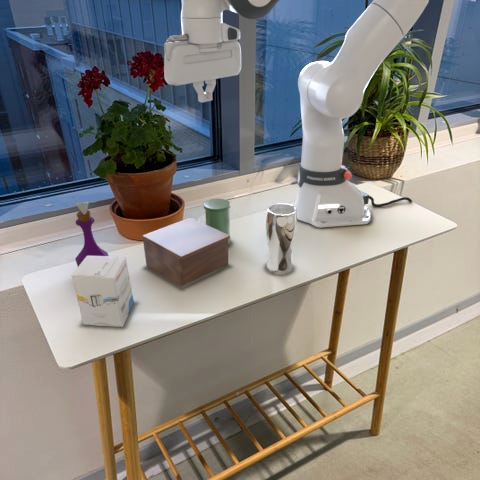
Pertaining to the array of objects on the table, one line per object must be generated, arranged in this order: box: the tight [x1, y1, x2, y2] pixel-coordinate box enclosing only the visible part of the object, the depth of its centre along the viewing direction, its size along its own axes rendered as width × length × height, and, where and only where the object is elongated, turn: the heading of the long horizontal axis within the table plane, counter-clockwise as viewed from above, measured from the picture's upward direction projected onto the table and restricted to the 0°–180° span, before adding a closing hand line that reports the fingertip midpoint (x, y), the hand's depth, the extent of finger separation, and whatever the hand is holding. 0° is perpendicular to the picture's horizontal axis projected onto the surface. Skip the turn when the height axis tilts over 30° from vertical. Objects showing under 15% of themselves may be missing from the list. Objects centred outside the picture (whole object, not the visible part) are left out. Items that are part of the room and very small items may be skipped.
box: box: [142, 238, 229, 287], centre depth 114 cm, size 13×14×8 cm
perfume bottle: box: [74, 201, 110, 267], centre depth 109 cm, size 8×8×18 cm
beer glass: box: [265, 203, 298, 276], centre depth 112 cm, size 7×7×15 cm
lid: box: [142, 216, 231, 260], centre depth 112 cm, size 14×14×1 cm
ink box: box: [71, 255, 134, 328], centre depth 97 cm, size 9×8×12 cm
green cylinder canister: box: [203, 198, 231, 245], centre depth 123 cm, size 7×7×11 cm
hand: (205, 101), depth 113 cm, fingers closed
